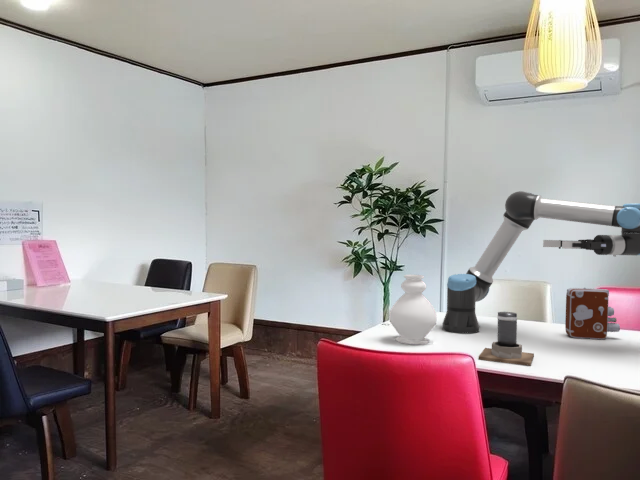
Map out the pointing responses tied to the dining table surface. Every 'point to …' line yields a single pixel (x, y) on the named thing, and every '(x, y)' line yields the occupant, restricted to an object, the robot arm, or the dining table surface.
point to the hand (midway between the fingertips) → (552, 244)
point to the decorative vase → (413, 312)
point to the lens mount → (507, 355)
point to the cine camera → (589, 313)
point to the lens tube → (507, 329)
